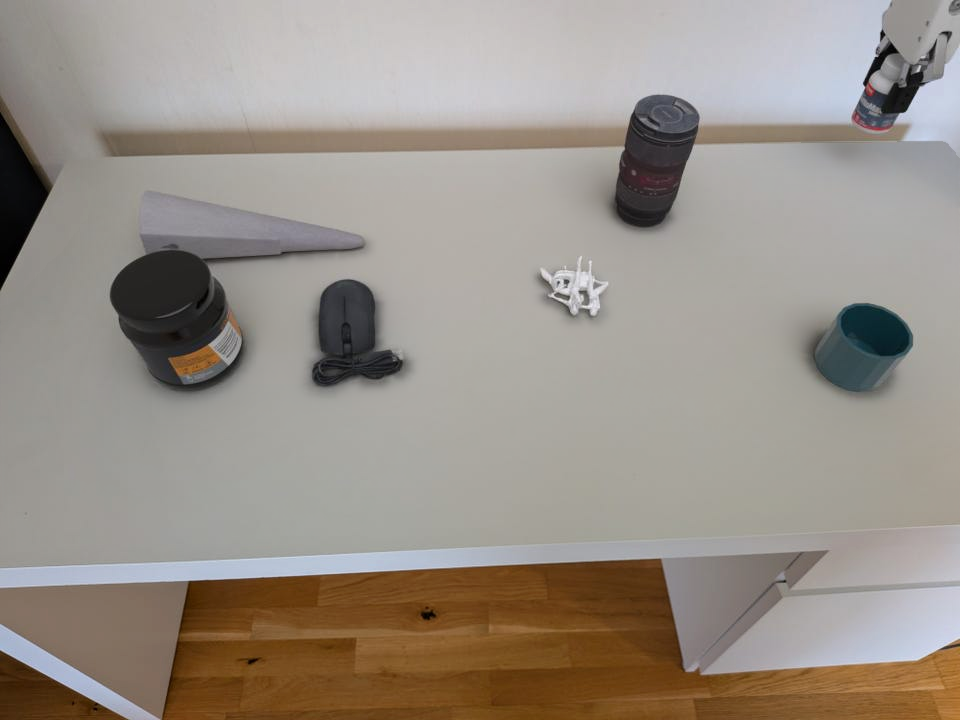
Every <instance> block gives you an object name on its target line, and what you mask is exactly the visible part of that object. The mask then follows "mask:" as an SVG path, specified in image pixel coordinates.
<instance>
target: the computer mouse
mask: <svg viewBox="0 0 960 720" xmlns="http://www.w3.org/2000/svg"><path fill="white" fill-rule="evenodd" d="M375 313H376V302H375V298H374V294H373V291H372V290H371V289H370V287H369V286H368V285H366V284H365V283H363V282H361V281H359V280H356V279H351V278H345V279H340V280H337V281H334V282H332V283H331V284H329V285H328V286H326V287H325V288H324V289H323V291H322V292H321V295H320V297H319V311H318V324H317V325H318V326H317V327H318V339H319V347H320V350H321V352H323V353H325V354H327V355H329V356H330V357H328V356H327V357H326V356H325V357H323V358H322V359H319V361H316V362H315V364H314V365H313V367H312V370H311V373H312V374H311V379H312V381H313V382H314V383H315V384H316V385H319V386H324V387H325V386H326V387H327V386H330V385H334V384H336V383H338V382H339V381H341V380H342V379H344V378H346V377H349V376H351V375H353V376H357V375H358V374H360V375H361V376H363V377H365V378H367V379H370V380H381V379H382V378H384V376H385V375H391V374H394V373H397V372H399V371H400V370H401V369H402V367H403V363H404V362H403V361H404V360H405V359H404V352H403V349H396V350H391V349H386V350H379V351H372V352H370V353H368V354H365V355H363V356H362V357H356V358H352V355H356V354H361V353H365V352H368V351H370V350H371V349H373V348H375V346H376V325H375ZM331 356H340V357H341V356H342V357H343V356H345V358H338V357H331ZM337 369H338V370H341V369H342V370H341V371H338V372H336V373H332V374H327V373H325V371H327V370H337ZM372 375H375V376H372Z"/></svg>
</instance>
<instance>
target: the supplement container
mask: <svg viewBox="0 0 960 720" xmlns="http://www.w3.org/2000/svg"><path fill="white" fill-rule="evenodd" d="M109 300H110V304H111V306H112V307H113V309H114V311H115V313H116V314H117V316H118V317H117V318H118V325H119V327H120V331H122V333H123V335H124V336H125V337H126V339H128V341H130V343H131V344H132V346H133V348H134V349H135V351H136V352H137V353H138V355H139V357H140V358H141V360H142V361H143V363H144V365H145V367H146V368H147V370H148V372H149V374H150V375H151V376H152V378H154V379H155V381H157V382H159V384H161V385H163V386H165V387H167V388H170V389H174V390H177V391H194V390H200V389H204V388H207V387H211V386H212V385H214V384H215V385H216V384H217V383H218V382H221V381H222V380H224V379H225V378H226V377H228V376H229V375H230V374H231V373H232V372H233V371H234V370H235V369H236V367H237V366H238V364H239V362H240V361H241V359H242V357H243V354H244V350H245V337H244V334H243V331H242V329H241V327H240V326H239V324H238V322H237V319H236V316H235V315H234V312H233V310H232V307H231V306H230V303H229V301H228V299H227V293H226V291H225V289H224V286H223V285H222V283H221V282H220V281H219V280H218V279H217V278H216V277H215V276H213V273H212V272H211V269H210V268H209V266H208V264H207V262H206V261H205V260H204V259H201V258H200V257H199V256H197V255H195V254H193V253H190V252H187V251H182V250H163V251H157V252H153V253H150V254H144V255H142V256H139V257H138V258H136V259H134V260H132V261H131V262H129V263H128V264H126V265H125V266H124V267H123V268H122V269H121V270H120V271H119V272H118V273H117V275H116V276H115V278H114V279H113V281H112V283H111V286H110V289H109Z"/></svg>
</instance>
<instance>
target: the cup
mask: <svg viewBox="0 0 960 720" xmlns="http://www.w3.org/2000/svg"><path fill="white" fill-rule="evenodd" d="M913 347H914V334H913V332H912V330H911V329H910V326H909V324H908V323H907V322H906V321H905V320H904V319H903V318H902V317H901V316H899V315H898V314H897V313H896V312H894V311H892V310H890V309H888V308H886V307H884V306H881V305H878V304H875V303H871V302H855V303H852V304H848V305H846V306H844V307H843V308H842V309H841V310H840V311H839V312H838V314H837V315H836V316H835V318H834V319H833V321H832V323H831V324H830V326H829V327H828V328H827V330H826V332H825V333H824V335H823V336H822V338H821V339H820V341H819V342H818V344H817V346H816V348H815V350H814V361H815V365H816V368H817V369H818V370H819V372H820V373H821V374H822V376H824V377H825V378H826V379H827V380H828V381H830V382H831V384H834V385H836V386H837V387H840V388H842V389H844V390H847V391H851V392H862V393H863V392H870V391H873V390H875V389H877V388H879V387H880V386H881V385H882V384H883V383H885V381H886V380H887V379H888V377H889V376H890V375H891V374H892V373H893V372H894V370H895V369H896V368H897V367H898V366H899V365H900V363H902V361H903V360H904V358H906V356H907V355H908V354H909V352H910V351H911V350H912V348H913Z"/></svg>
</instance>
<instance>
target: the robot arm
mask: <svg viewBox="0 0 960 720" xmlns="http://www.w3.org/2000/svg"><path fill="white" fill-rule="evenodd" d="M959 46H960V0H891V1H890V3H889V5H888V7H887V9H886V10H884V11H883V12H882V15H881V30H880V32H879V43H878V45H877V46H876V48H875V51H874V54H875V56H874V58H873V61H872V62H871V65H870V67H869V69H868V70H867V73H866V74H865V76H864V79H863V82H862V86H864V88H865V87H866V85H867V83H868V81H869V79H870V77H871V75H872V74H873V73H875V72H876V71H878V70H881V66H882V64H883V62H884V60H885V59H886V57H887V56H888V55H891V54H901V55H902V56H903V57H904V59H905V62H904V65H903V69H902V72H901V75H900V78H899V82H898V83H894V84H893V86H892V87H891V89H890V91H889V93H888V95H887V97H886V99H885V101H884V103H883V105H882V107H881V112H882V113H883V114H890V113H900V114H905V113H906V112H907V111H908V110H909V108H910V106H911V104H912V102H913V101H914V99H915V97H916V95H917V94H918V91H919V90H920V88H923V87H924V86H925V85H926V84H929V83H932V82H934V81H937V80H941V79H942V78H943V77H944V75H945V65H946V64H948V63H950V62H951V60H952V59H953V57H954V56H955V54H956V52H957V50H958V48H959ZM915 65H919V66H920V68H919V71H917V72H916V73H914V74H912V75H911V72H912V69H913V66H915Z"/></svg>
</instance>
